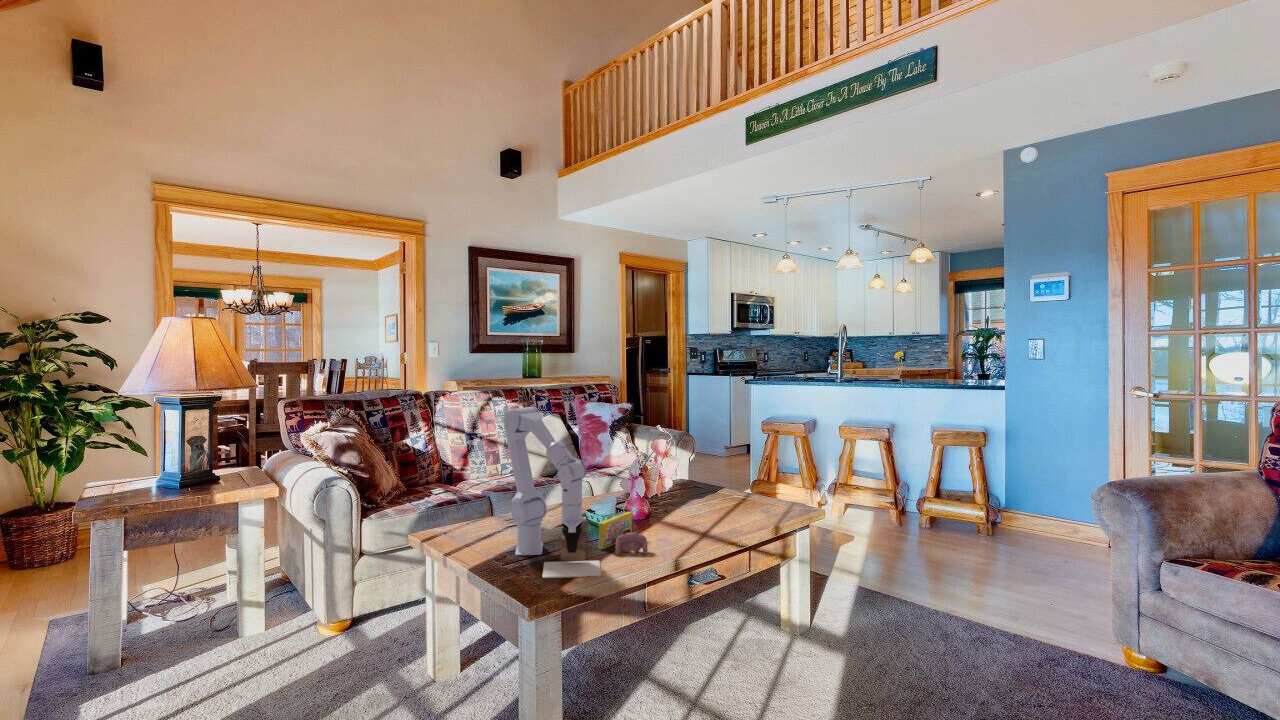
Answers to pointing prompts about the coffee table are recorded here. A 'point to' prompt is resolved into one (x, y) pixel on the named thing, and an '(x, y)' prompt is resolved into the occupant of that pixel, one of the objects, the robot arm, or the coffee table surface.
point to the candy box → (614, 529)
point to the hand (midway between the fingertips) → (572, 549)
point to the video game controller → (631, 538)
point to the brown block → (579, 551)
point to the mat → (571, 569)
